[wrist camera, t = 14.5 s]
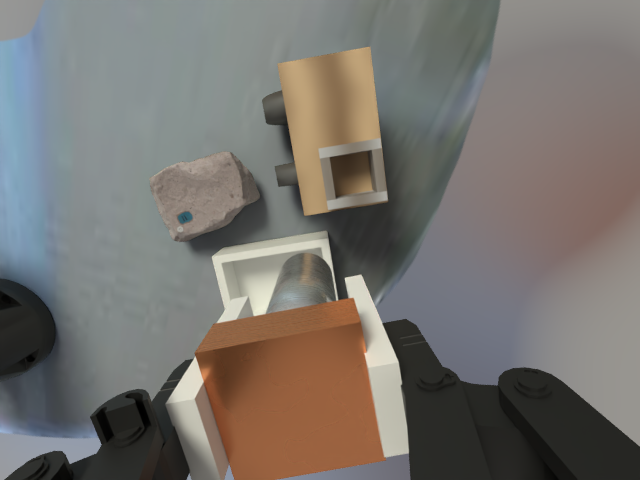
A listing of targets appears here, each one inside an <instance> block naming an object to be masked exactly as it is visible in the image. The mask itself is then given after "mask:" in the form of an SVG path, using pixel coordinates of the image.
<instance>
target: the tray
mask: <svg viewBox="0 0 640 480" xmlns="http://www.w3.org/2000/svg"><path fill="white" fill-rule="evenodd" d="M300 253H312V254H315V255H318V256H319V257H321V258H322V259H324V260H325V261H326V262H327V264H328V265H329V267H330V269H331V272H332V276H333V282H334V289H335V295H336V301H338V293H337V287H336V281H335V275H334V269H333V263H332V257H331V251H330V245H329V238H328V232H327V231H321V232H315V233H309V234H302V235H296V236H290V237H284V238H278V239H271V240H265V241H259V242H253V243H247V244H240V245H234V246H228V247H223V248H222V249H221V250H220V251H218V252H217V253H216V254H215V255H213V256H212V259H213V263H214V267H215V271H216V275H217V279H218V283H219V287H220V291H221V295H222V299H223V304H224V308H225V309H226V308H227V306H228V305H229V303H230V302H231V300H232V299H235V298H240V297H246V296H249V300H250V304H251V307H252V311H253V315H254V316H258V315H263V314H266V311H267V308H268V305H269V302H270V299H271V296H272V293H273V290H274V287H275V284H276V281H277V278H278V276H279V273H280V270H281V267H282V266H283V264H284V263H285V262H286V261H287V260H288V259H289V258H290V257H292V256H294V255H296V254H300Z"/></svg>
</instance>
